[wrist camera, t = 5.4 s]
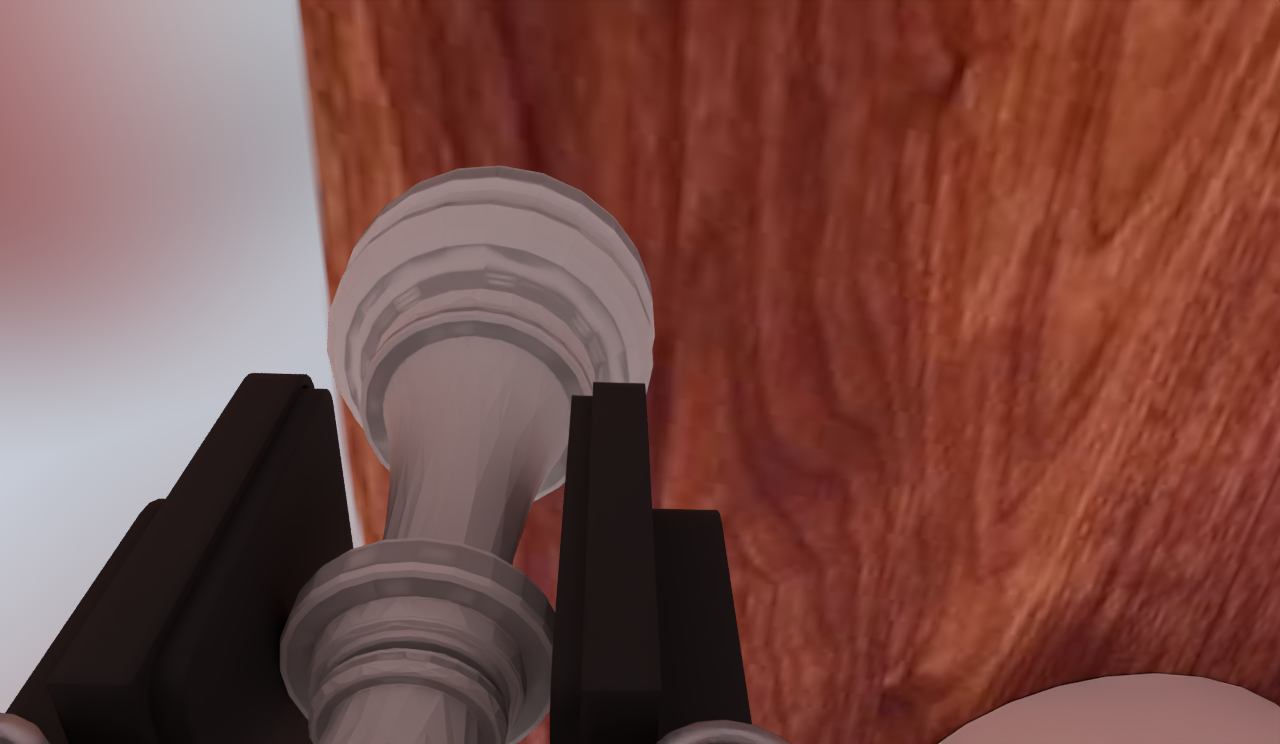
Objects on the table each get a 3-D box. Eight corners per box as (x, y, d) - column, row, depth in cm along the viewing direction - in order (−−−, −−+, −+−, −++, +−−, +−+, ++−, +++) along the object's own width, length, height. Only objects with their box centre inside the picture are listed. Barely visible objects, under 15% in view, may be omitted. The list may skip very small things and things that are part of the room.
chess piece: (439, 97, 12) (35, 757, 4) (713, 267, 14) (883, 1044, 5) (299, 347, 14) (-189, 1180, 6) (554, 476, 15) (478, 1312, 7)
